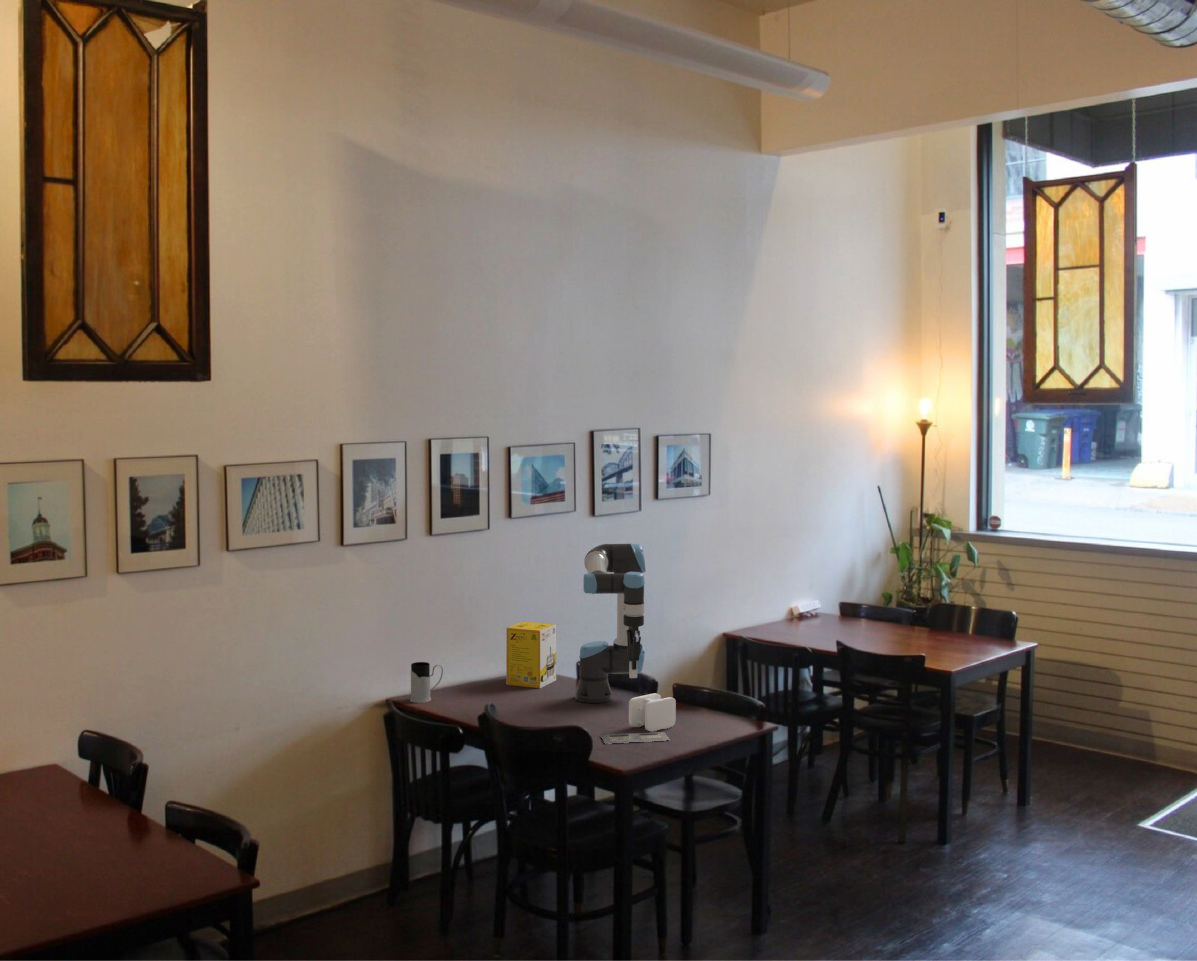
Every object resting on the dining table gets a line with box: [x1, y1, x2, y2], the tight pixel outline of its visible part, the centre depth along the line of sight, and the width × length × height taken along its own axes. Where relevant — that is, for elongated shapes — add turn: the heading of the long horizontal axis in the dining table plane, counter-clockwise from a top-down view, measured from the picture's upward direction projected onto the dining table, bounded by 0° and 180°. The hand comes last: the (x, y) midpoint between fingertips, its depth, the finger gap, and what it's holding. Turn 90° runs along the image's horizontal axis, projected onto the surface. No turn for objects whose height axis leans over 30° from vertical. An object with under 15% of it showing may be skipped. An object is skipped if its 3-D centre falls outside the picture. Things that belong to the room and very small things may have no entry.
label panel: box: [599, 731, 671, 745], centre depth 414 cm, size 10×24×1 cm, turn 100°
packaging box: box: [505, 621, 557, 689], centre depth 496 cm, size 16×16×25 cm
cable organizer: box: [628, 692, 677, 733], centre depth 428 cm, size 15×11×12 cm
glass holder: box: [409, 661, 444, 704], centre depth 468 cm, size 9×14×15 cm, turn 121°
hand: (633, 677), depth 419 cm, fingers closed
